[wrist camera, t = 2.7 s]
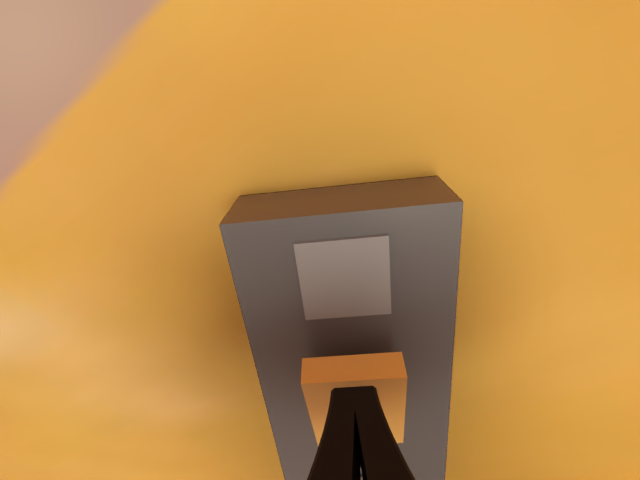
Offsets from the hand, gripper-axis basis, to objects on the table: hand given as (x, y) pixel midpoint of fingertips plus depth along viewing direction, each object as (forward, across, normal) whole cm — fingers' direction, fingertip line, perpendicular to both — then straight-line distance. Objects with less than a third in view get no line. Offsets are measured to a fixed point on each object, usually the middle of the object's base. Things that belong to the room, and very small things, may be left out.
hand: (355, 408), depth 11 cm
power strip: (+6, 0, +4) cm, 7 cm away
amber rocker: (+2, 0, +2) cm, 3 cm away
